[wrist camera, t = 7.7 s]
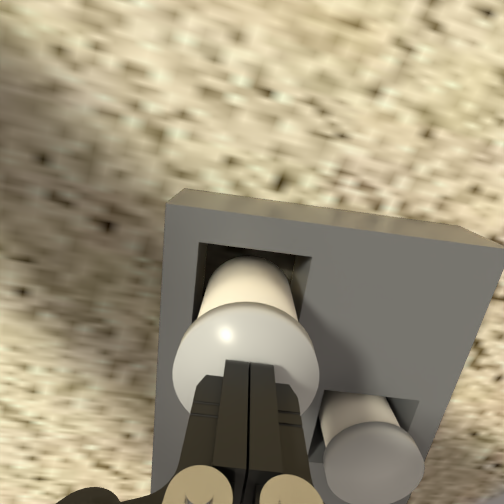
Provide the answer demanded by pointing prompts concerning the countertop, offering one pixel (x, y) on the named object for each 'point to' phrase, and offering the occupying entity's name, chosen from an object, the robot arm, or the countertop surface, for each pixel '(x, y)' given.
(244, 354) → the knob
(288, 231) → the mount
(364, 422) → the knob side
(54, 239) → the countertop surface
